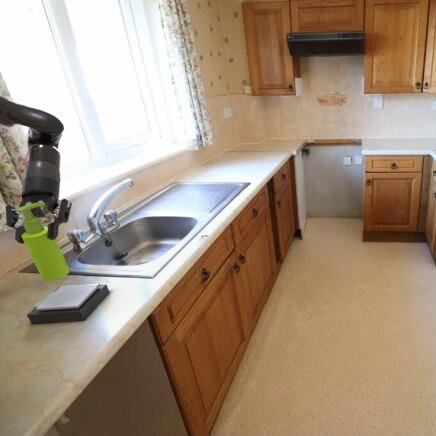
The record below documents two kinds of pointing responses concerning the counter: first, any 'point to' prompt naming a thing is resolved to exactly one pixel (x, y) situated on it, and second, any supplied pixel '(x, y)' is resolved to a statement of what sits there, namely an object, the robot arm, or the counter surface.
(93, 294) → the kitchen scale
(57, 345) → the counter surface
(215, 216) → the counter surface
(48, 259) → the soap dispenser
